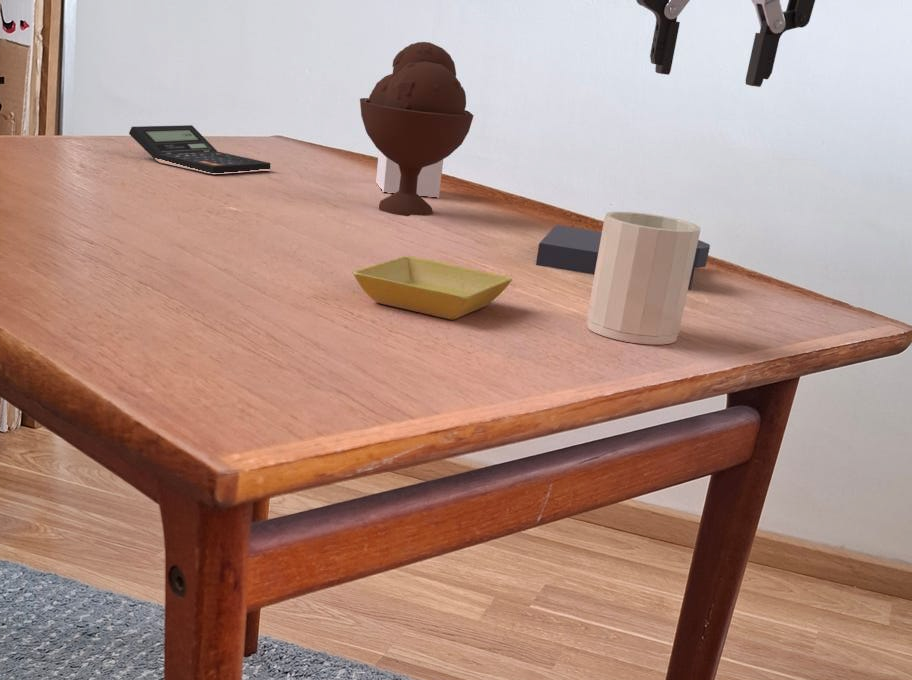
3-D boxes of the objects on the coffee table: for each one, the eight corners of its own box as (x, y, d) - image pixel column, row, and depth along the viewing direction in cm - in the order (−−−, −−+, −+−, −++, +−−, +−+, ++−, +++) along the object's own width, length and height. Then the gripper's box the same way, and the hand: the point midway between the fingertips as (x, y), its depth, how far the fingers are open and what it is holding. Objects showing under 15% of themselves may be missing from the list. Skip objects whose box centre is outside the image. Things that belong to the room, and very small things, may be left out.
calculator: (212, 175, 127) (213, 144, 125) (128, 156, 132) (128, 126, 130) (270, 171, 134) (271, 141, 133) (188, 153, 139) (189, 124, 138)
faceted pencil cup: (678, 330, 89) (701, 222, 85) (675, 350, 83) (699, 235, 80) (590, 315, 90) (609, 207, 86) (581, 334, 84) (601, 220, 81)
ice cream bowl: (334, 197, 123) (347, 31, 117) (436, 203, 128) (454, 43, 121) (371, 218, 115) (387, 40, 108) (479, 224, 119) (501, 53, 113)
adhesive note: (439, 198, 131) (446, 138, 129) (383, 193, 130) (389, 132, 127) (429, 189, 137) (435, 130, 134) (375, 183, 135) (381, 124, 132)
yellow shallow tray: (462, 327, 82) (466, 296, 81) (347, 301, 85) (350, 270, 84) (510, 307, 89) (515, 278, 88) (403, 283, 92) (406, 254, 91)
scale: (703, 270, 112) (711, 230, 110) (699, 295, 101) (709, 251, 100) (552, 245, 114) (558, 206, 112) (533, 267, 103) (540, 224, 102)
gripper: (676, -192, 85) (629, 71, 93) (873, -161, 87) (811, 95, 95) (650, -180, 92) (609, 65, 99) (834, -151, 93) (779, 87, 101)
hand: (708, 79), depth 97 cm, fingers open, 7 cm apart
